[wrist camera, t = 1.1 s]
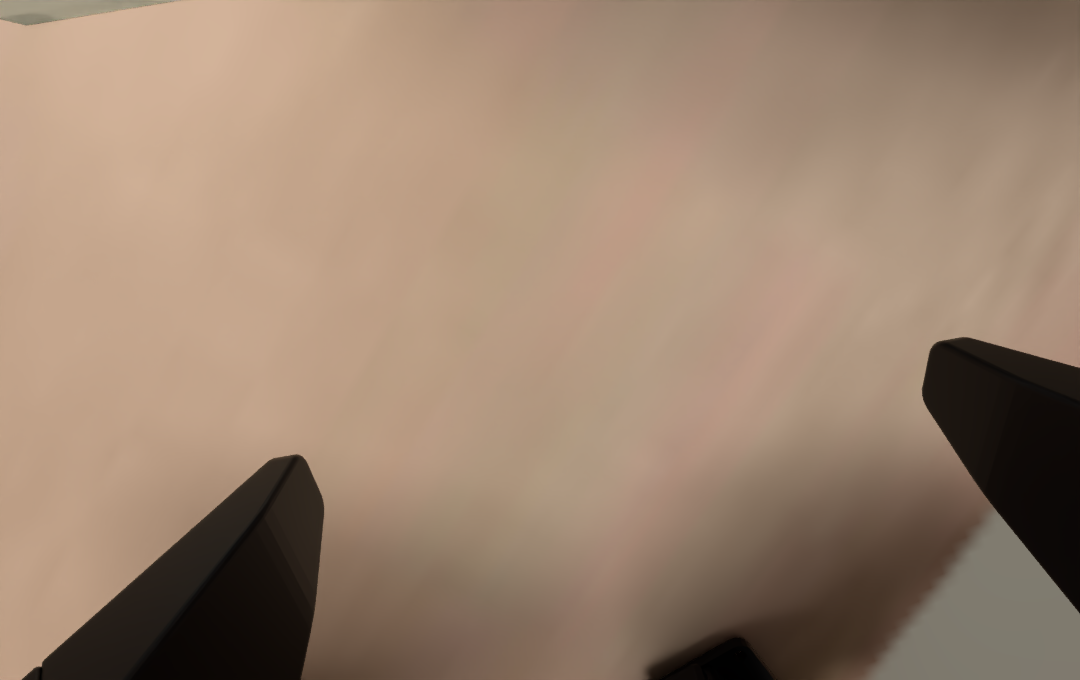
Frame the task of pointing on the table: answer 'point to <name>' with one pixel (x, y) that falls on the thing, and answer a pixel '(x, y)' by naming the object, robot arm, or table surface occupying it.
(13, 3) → the tray
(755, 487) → the table surface
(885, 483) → the table surface
